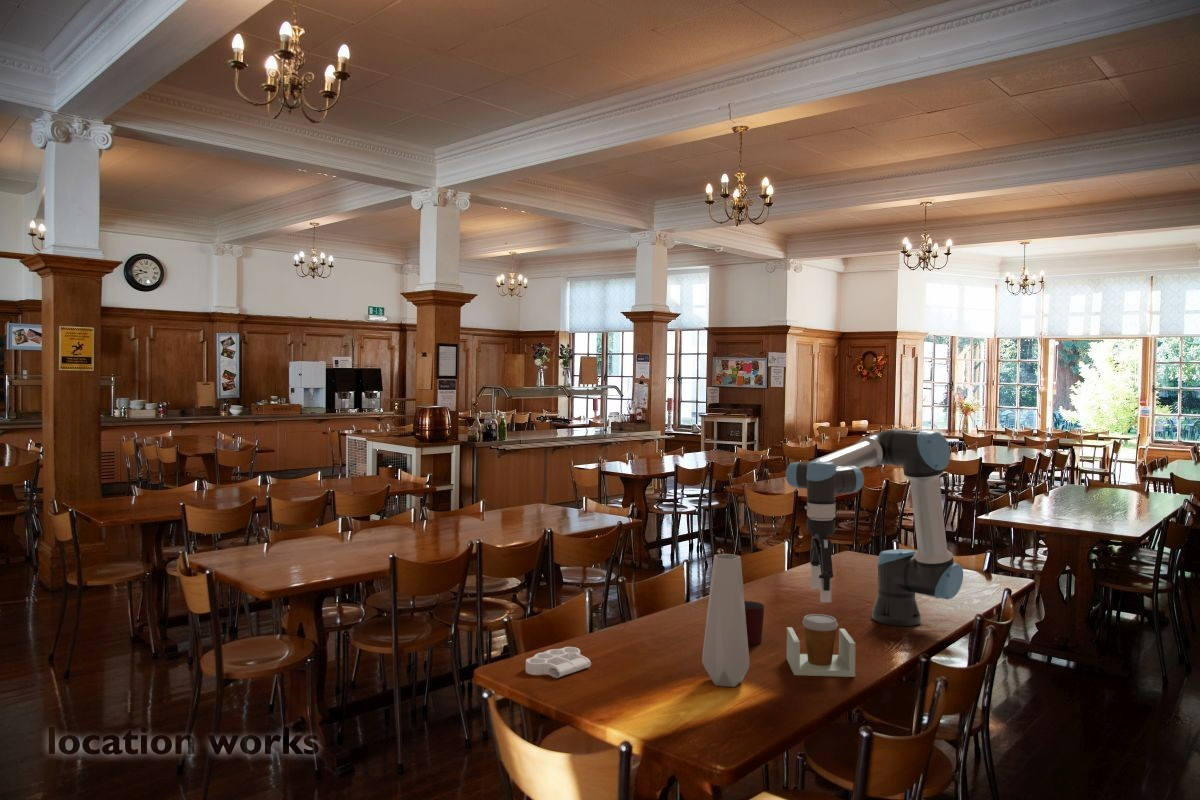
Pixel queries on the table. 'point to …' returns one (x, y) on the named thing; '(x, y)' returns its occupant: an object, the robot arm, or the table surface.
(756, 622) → the mug
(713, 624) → the vase
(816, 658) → the disposable coffee cup
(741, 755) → the table surface
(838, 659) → the holder
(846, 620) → the table surface
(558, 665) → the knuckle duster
